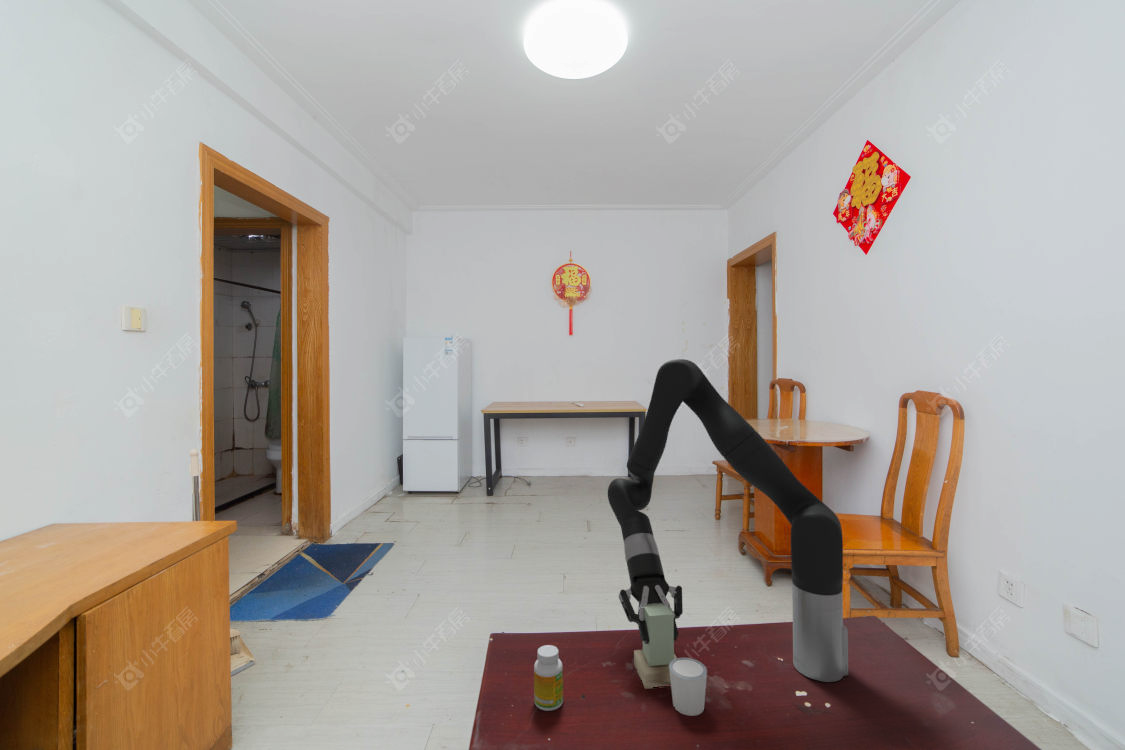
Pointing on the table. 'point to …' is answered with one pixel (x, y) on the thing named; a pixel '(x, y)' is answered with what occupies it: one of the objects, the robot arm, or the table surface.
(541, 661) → the supplement bottle
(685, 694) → the white cup
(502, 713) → the table surface
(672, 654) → the sage brick
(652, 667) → the beech block
